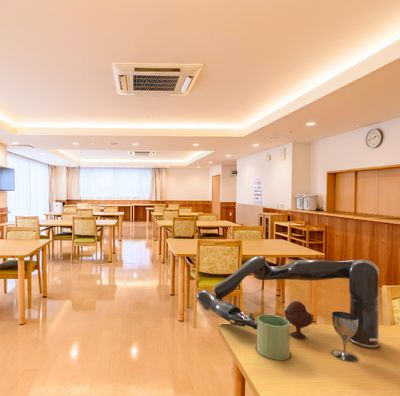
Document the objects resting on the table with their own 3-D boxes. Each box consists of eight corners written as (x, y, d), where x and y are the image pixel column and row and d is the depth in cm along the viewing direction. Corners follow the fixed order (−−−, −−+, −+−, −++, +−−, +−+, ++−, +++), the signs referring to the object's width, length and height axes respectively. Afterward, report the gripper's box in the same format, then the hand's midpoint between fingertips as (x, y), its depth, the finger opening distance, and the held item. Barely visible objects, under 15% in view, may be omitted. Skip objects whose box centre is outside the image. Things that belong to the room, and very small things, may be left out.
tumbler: (260, 341, 118) (261, 312, 118) (291, 350, 111) (292, 319, 111) (253, 353, 109) (253, 321, 108) (286, 363, 102) (286, 329, 102)
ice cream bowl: (318, 343, 116) (318, 306, 116) (288, 340, 118) (288, 304, 118) (308, 331, 126) (308, 297, 126) (280, 329, 128) (280, 295, 128)
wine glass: (335, 359, 105) (335, 318, 105) (329, 348, 112) (329, 310, 112) (361, 363, 102) (362, 321, 102) (353, 352, 109) (353, 313, 109)
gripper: (239, 317, 135) (269, 333, 119) (216, 322, 130) (244, 339, 114) (239, 301, 135) (269, 315, 119) (216, 305, 130) (245, 320, 114)
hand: (257, 326), depth 117 cm, fingers closed
